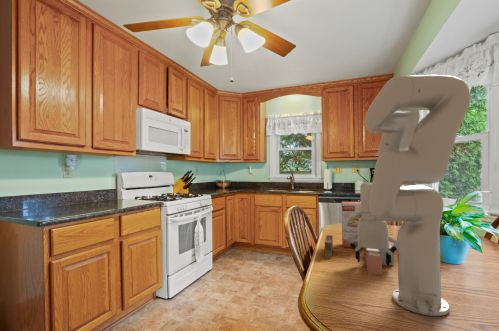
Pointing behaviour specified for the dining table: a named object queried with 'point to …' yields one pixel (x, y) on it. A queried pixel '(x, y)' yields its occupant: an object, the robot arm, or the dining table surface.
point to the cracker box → (350, 221)
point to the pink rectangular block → (373, 261)
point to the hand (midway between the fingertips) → (372, 262)
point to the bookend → (328, 246)
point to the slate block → (383, 254)
